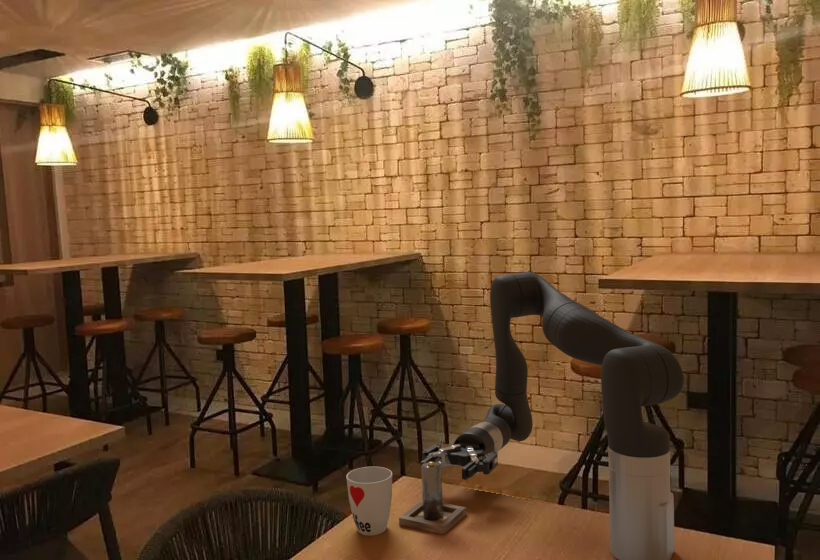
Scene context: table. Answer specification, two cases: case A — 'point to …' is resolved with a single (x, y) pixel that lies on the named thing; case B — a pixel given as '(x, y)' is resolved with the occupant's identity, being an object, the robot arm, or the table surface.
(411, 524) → the bay
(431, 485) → the cell
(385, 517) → the cup
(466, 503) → the table surface
